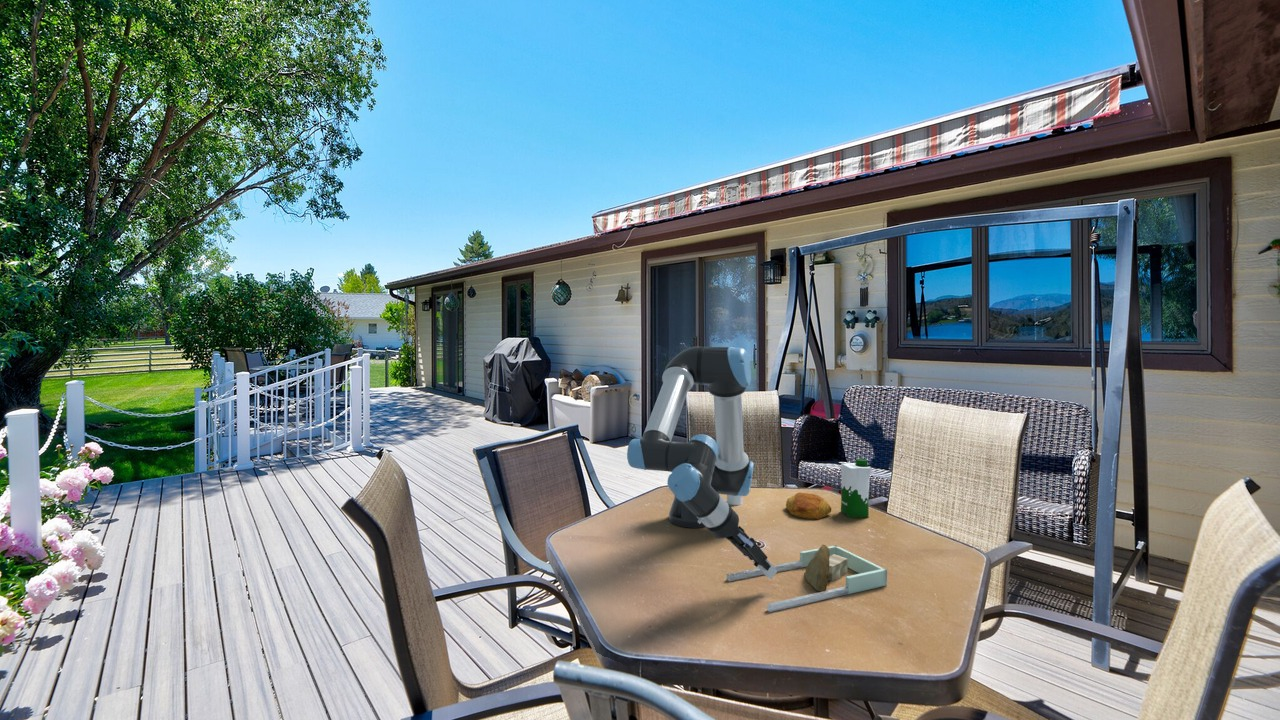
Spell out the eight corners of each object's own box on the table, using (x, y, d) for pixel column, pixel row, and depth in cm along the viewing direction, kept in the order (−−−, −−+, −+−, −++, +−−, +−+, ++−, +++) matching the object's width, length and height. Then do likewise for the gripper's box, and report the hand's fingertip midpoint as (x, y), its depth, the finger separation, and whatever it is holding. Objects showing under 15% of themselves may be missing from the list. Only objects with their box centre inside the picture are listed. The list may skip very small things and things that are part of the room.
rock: (836, 588, 133) (845, 570, 141) (815, 559, 135) (825, 542, 143) (802, 602, 139) (813, 583, 147) (783, 573, 141) (795, 557, 148)
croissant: (794, 510, 209) (792, 489, 209) (835, 513, 199) (833, 490, 200) (779, 519, 197) (777, 496, 197) (822, 522, 188) (820, 498, 188)
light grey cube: (832, 581, 142) (832, 566, 142) (818, 576, 145) (818, 561, 145) (839, 577, 145) (840, 562, 145) (826, 572, 148) (826, 557, 148)
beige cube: (839, 577, 145) (840, 562, 145) (825, 572, 148) (826, 557, 148) (847, 573, 148) (847, 558, 148) (833, 568, 151) (834, 554, 151)
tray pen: (848, 594, 135) (848, 578, 135) (799, 565, 152) (800, 551, 151) (886, 585, 140) (887, 570, 140) (835, 559, 157) (835, 545, 157)
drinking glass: (746, 503, 209) (747, 477, 209) (737, 506, 205) (737, 480, 204) (731, 499, 214) (732, 474, 214) (722, 502, 209) (722, 477, 209)
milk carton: (872, 518, 194) (874, 462, 193) (847, 518, 193) (849, 462, 192) (860, 510, 203) (862, 457, 202) (836, 510, 202) (838, 457, 201)
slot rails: (769, 612, 125) (769, 605, 125) (726, 580, 142) (726, 574, 142) (848, 594, 135) (848, 588, 135) (799, 565, 152) (799, 560, 152)
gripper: (693, 519, 134) (748, 575, 142) (722, 537, 122) (780, 597, 130) (712, 496, 136) (765, 552, 143) (742, 511, 124) (798, 572, 132)
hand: (772, 573), depth 137 cm, fingers closed
